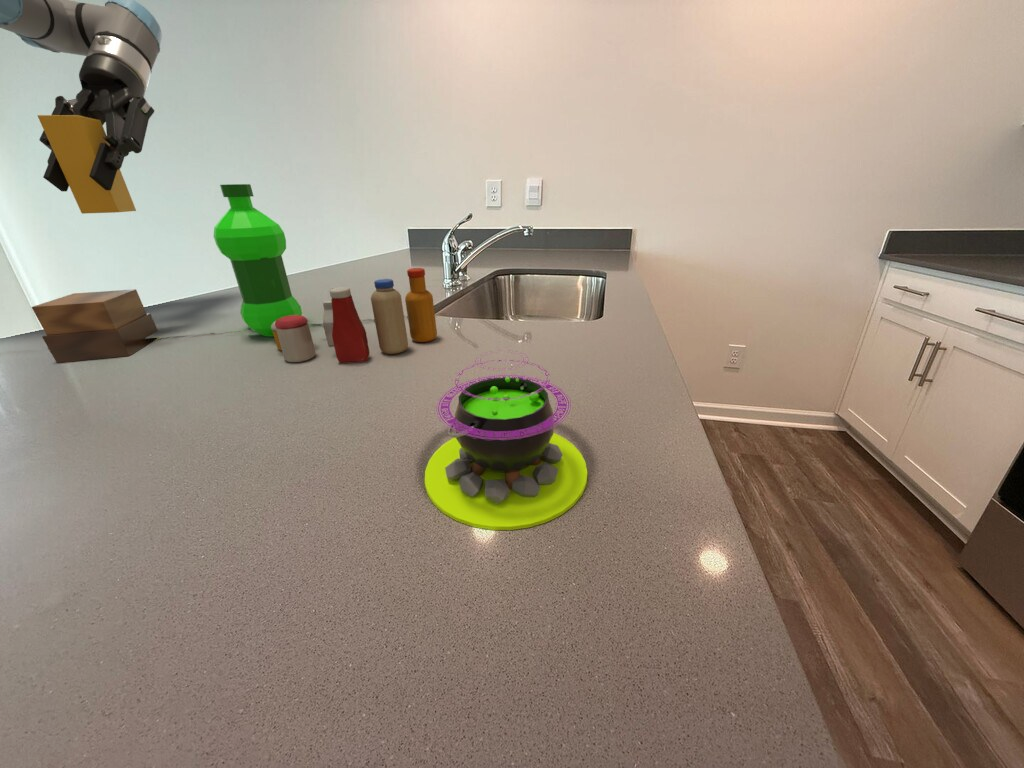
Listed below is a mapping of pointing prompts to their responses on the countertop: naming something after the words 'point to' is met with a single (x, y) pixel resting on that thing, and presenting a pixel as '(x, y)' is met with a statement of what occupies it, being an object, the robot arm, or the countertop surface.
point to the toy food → (348, 328)
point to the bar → (84, 162)
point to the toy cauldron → (505, 455)
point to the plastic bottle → (255, 260)
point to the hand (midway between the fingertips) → (77, 183)
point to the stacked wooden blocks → (95, 325)
